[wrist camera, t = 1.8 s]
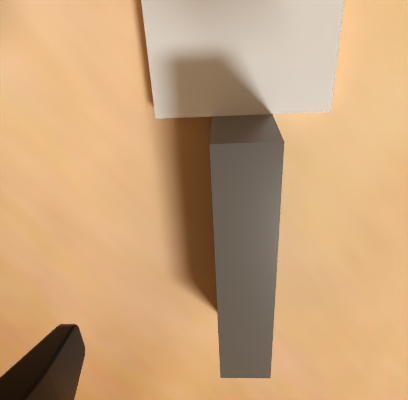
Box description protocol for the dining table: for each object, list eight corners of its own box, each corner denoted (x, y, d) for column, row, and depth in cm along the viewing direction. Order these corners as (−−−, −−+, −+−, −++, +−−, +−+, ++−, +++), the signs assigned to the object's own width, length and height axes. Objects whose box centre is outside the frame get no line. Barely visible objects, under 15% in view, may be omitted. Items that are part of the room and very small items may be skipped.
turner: (355, -156, 11) (418, -230, 7) (302, 314, 21) (318, 378, 17) (129, -137, 11) (88, -198, 8) (181, 314, 21) (173, 377, 18)
